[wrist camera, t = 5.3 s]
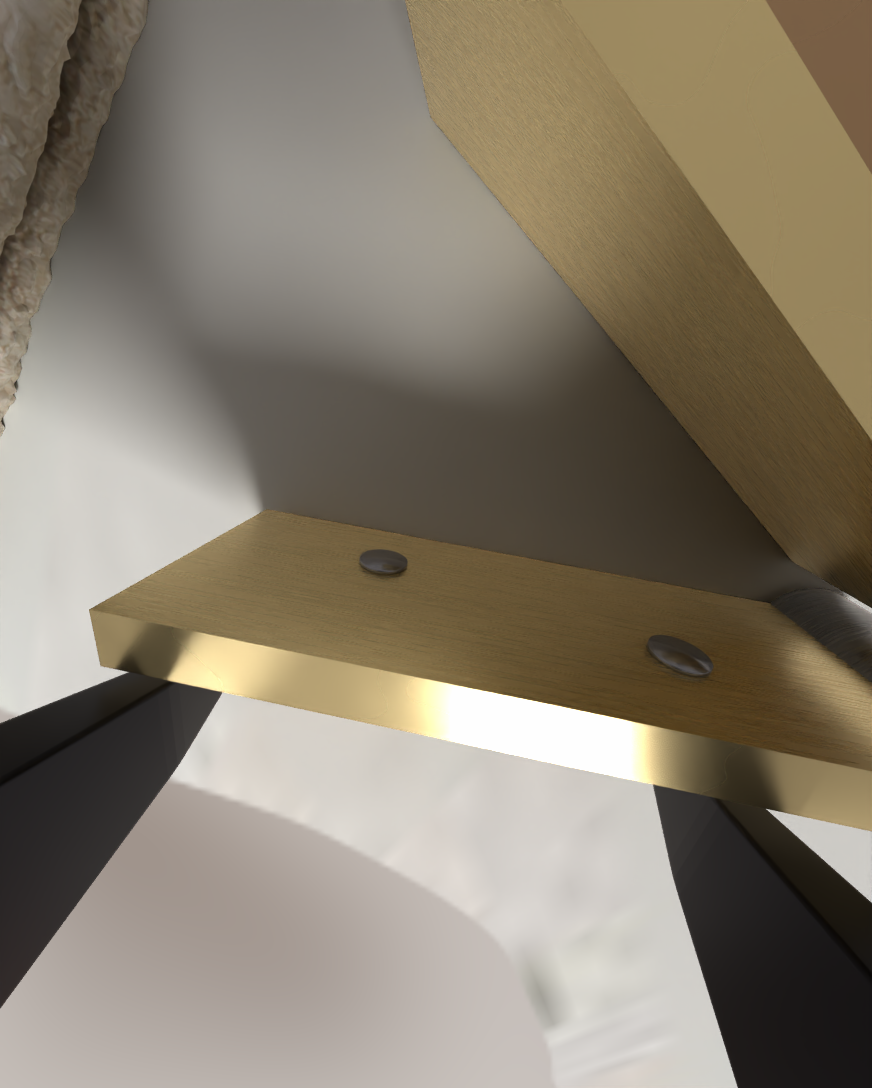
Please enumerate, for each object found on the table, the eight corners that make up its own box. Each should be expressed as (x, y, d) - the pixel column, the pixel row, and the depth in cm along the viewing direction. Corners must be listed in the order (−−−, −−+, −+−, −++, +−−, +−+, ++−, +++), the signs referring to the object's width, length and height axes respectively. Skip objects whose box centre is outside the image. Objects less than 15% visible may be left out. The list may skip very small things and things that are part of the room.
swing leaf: (889, 592, 9) (1373, 845, 4) (829, 681, 10) (1165, 975, 5) (266, 478, 10) (40, 575, 5) (267, 571, 11) (78, 731, 6)
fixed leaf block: (988, 439, 8) (1631, 511, 4) (792, 561, 10) (1074, 726, 5) (616, -148, 6) (1018, -1825, 1) (430, 116, 7) (335, -319, 3)
